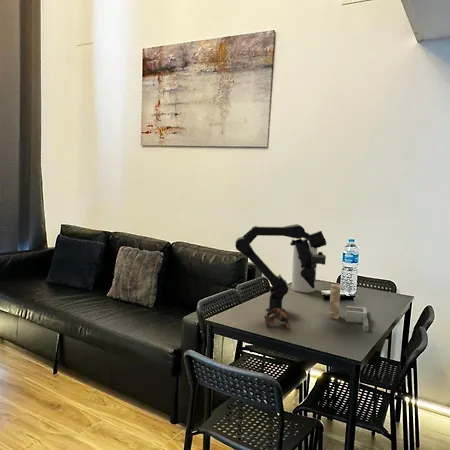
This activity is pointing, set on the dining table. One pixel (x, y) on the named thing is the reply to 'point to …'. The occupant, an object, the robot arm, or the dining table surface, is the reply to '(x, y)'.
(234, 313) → the dining table surface
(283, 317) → the brown curled piece
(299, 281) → the cylinder vase
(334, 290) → the beech pin
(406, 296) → the dining table surface
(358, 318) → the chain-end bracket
